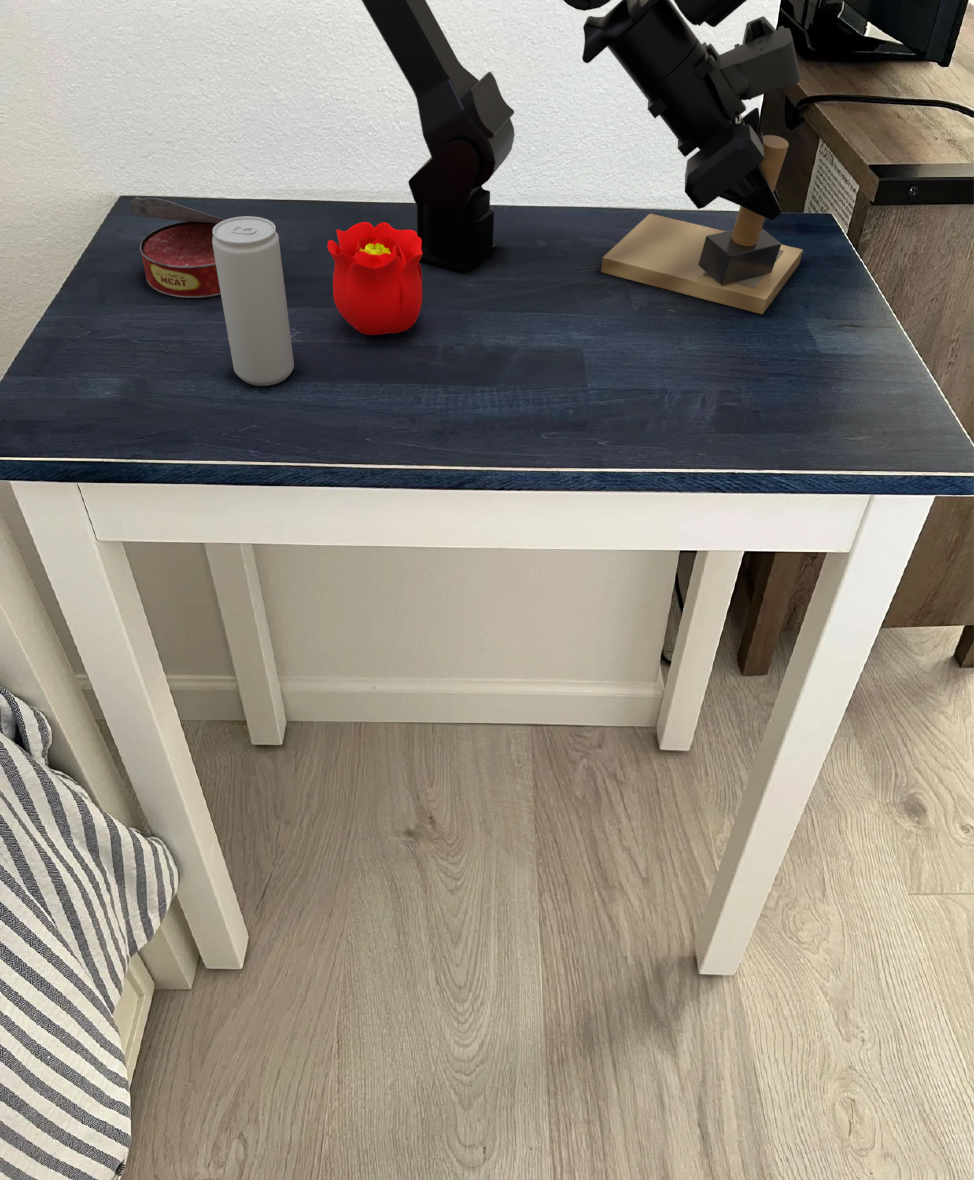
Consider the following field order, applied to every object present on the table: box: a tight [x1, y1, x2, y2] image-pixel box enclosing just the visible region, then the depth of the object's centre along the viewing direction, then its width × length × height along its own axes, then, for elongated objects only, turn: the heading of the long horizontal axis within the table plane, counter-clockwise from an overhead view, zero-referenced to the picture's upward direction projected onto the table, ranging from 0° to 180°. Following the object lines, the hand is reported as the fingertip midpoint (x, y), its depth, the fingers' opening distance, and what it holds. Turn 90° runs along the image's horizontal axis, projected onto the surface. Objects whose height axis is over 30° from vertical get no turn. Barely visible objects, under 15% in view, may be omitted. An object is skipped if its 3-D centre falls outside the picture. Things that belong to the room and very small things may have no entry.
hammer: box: [698, 134, 790, 285], centre depth 89 cm, size 6×4×12 cm, turn 119°
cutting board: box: [600, 213, 804, 315], centre depth 97 cm, size 16×12×2 cm
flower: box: [327, 221, 423, 336], centre depth 85 cm, size 8×8×8 cm
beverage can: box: [212, 215, 295, 387], centre depth 78 cm, size 5×5×12 cm
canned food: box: [129, 196, 226, 299], centre depth 92 cm, size 11×10×10 cm
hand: (775, 210), depth 89 cm, fingers closed on hammer, 2 cm apart
